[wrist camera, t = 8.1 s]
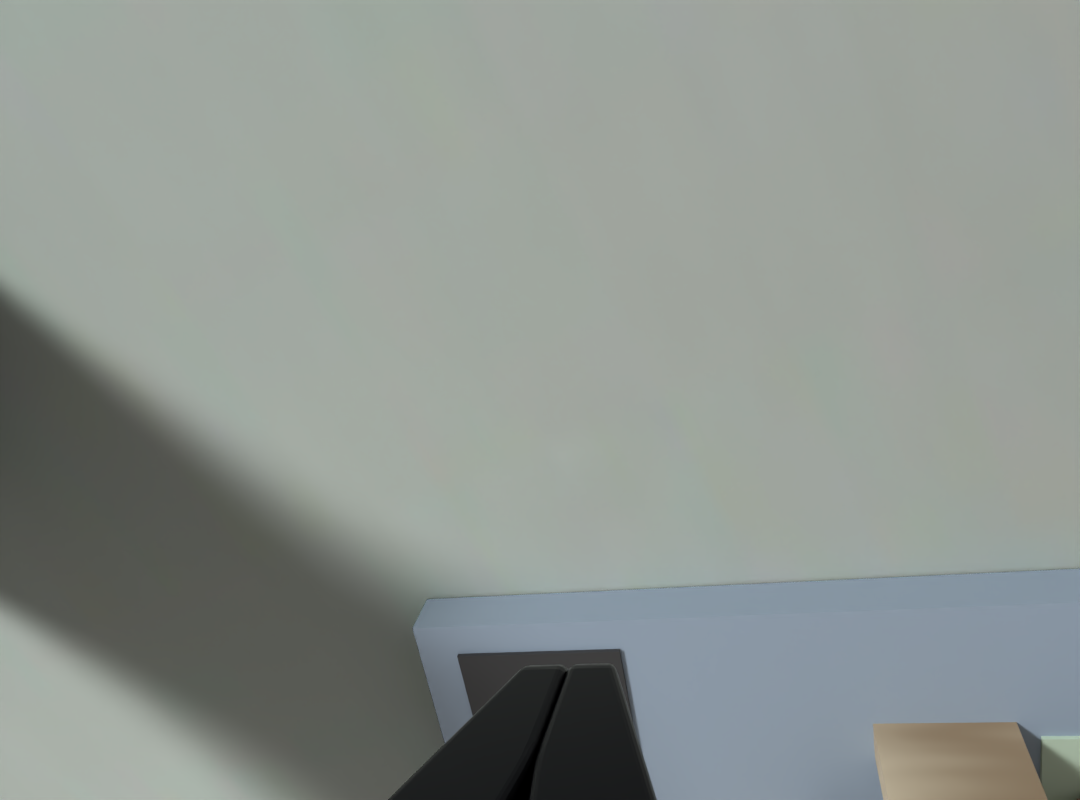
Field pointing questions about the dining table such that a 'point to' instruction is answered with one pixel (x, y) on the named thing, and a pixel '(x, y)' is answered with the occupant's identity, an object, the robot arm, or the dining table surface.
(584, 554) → the dining table surface
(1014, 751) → the tunnel
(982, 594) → the pale blue flat board
